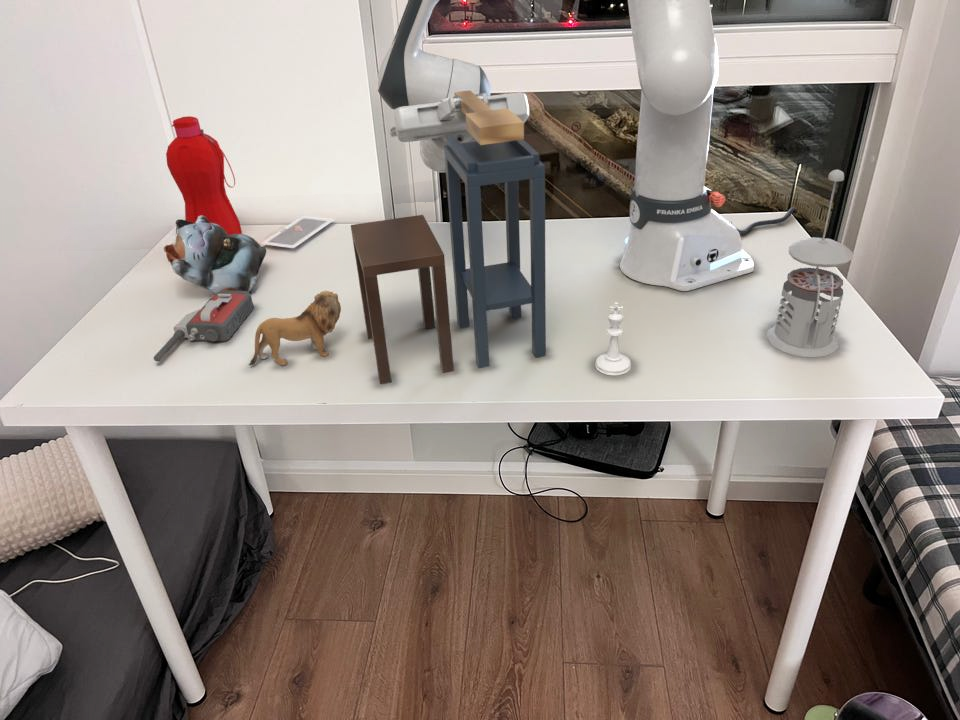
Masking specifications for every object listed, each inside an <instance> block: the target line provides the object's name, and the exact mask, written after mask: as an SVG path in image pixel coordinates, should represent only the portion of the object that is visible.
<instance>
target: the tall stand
mask: <svg viewBox="0 0 960 720" xmlns="http://www.w3.org/2000/svg"><path fill="white" fill-rule="evenodd" d="M446 142H447V145H445V146H444V154H445V167H446V172H445V179H446V193H447V205H448V217H449V231H450V233H449V234H450V243H451V244H450V245H451V258H452V271H453V284H454V297H455V309H456V311H455V312H456V323H457V325H458V328H459V329H464V328H469V327H470V314H469V313H470V312H469V311H470V310H469V298H468V296H469V295H470V297H471V301H472V302H471V303H472V319H473V333H474V334H473V335H474V351H475V364H476V366H477V367H478V369H482V368H488V367H490V349H489V332H488V331H489V330H488V327H489V326H488V312H489V311H495V310H502V309H507V308H508V315H509V317H510V319H511V320H516V319H522V306H525V305H531V306H530V307H531V353H532V355H533V356H534V358H536V359H538V358H542V357H543V358H544V357H546V356H547V351H546V350H547V344H546V343H547V339H546V338H547V336H546V334H547V332H546V330H547V329H546V326H547V325H546V323H547V322H546V320H547V319H546V317H547V315H546V312H547V310H546V308H547V307H546V305H547V303H546V302H547V301H546V298H547V297H546V165H545V163H543V161H541V160H540V153H539V152H538V151H537V150H536V149H535V148H533V147H532V146H531V145H530V144H529V143H528V142H527V141H525V140H524V139H523V140H517V141H509V142H502V143H494V144H487V145H480V144H479V143H478V142H477V141H476V142H468V143H459V142H458V141H457V140H456V138H455V137H454V136H446ZM461 180H462V182H463V183H464V190H465V191H464V192H465V206H466V208H465V209H466V223H467V224H466V225H467V240H468V255H469V268H466V267H467V266H466V265H467V264H466V253H465V252H466V251H465V238H464V237H465V236H464V223H463V222H464V221H463V207H462V205H463V204H462V192H461ZM525 180H526V181H527V180H529V234H530V236H529V237H530V239H529V240H530V282H529V281H528V280H527V278H526V277H525V276H524V274H523V272H522V271H521V241H520V240H521V238H520V200H519V199H520V197H519V196H520V195H519V181H525ZM496 184H497V185H498V184H504V203H505V204H504V205H505V209H504V210H505V234H506V237H505V238H506V262H501V263H496V264H488V265H485V253H484V252H485V251H484V233H483V232H484V231H483V214H482V213H483V212H482V195H481V193H482V192H481V187H482V186H490V185H496ZM468 294H469V295H468Z"/></svg>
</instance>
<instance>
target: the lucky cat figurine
mask: <svg viewBox="0 0 960 720" xmlns="http://www.w3.org/2000/svg"><path fill="white" fill-rule="evenodd" d="M175 225H176V226H175V238H174V239H175V240H174V241H173V243H170V244H166V245H165V246H164V247H163V251H164V253H166V254H165V255H166V259H167V261H168V262H169V263H170V266H171V268H172V271H173V273H174V274H176V275H178V276H179V277H181V279H183V280H185V281H188V282H190V283H192V284H193V285H197V286H199V287H201V288H203V289H206V290H208V291H209V292H212V293H214V294H216V293H218V292H220V291H222V290H226V291H247V292H251V291H252V289H253V288H254V287H255V286H256V284H257V282H258V278H259V271H260V268H261V266H262V264H263V262H264V259H265V258H266V256H267V255H266V254H267V248H266V247H265V246H262V245H261V244H260V243H259V242H257V240H255V239H254V238H253V237H252V236H250V235H247V234H243V233H242V234H232V235H228V234H227V232H226V231H225V229H224V228H222V227H221V226H220V225H218V224H214V223H210V222H209V221H208V219H207V218H206V217H205V216H202V215H201V216H198V219H197V221H196V222H195V223H193V222H188V221H186V220H185V219H180V218H179V219H176V221H175Z"/></svg>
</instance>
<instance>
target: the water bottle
mask: <svg viewBox="0 0 960 720" xmlns="http://www.w3.org/2000/svg"><path fill="white" fill-rule="evenodd" d="M171 127H173V128H174V130H175V131H174V132H175V134H176V137H175V138H173V140H172V141H171V142H170V143H169V145H168V146H167V148H166V149H167V150H166V153H165V157H166V158H165V159H166V165H167V168H168V171H169V173H170V176H171V177H172V179H173V181H174V182H175V184H176V186H177V188H178V190H179V192H180V193H181V195H182V198H183V199H182V200H183V203H184V220H186V221H188V222H193V223H195V222H196V221H197V219H198V216H201V215H202V216H205V217H206V218H207V219H208V221H209V222H210V223H214V224H218V225H220V226H221V227H222V228H224V229H225V231H226V232H227V234H228V235H232V234H243V231H242V226H241V223H240V220H239V218H238V216H237V212H236V211H235V209H234V207H233V205H232V203H231V201H230V199H229V197H228V194H227V191H226V187H225V184H226V185H227V187H228V188H234V187H235V185H236V178H235V174H234V172H233V169H232V166H231V165H230V162H229V159H228V158H227V156H226V155H225V152H224V151H223V150H222V148H221V147H220V144H219V141H218V140H217V139H215V138H214V137H212V136H211V135H210V134H207V133H205V132H204V129H203V128H201V125H200V122H199V118H197V117H195V116H182V117H178V118H176V119H173V121H172V125H171ZM225 161H226V162H227V165H228V166H229V169H230V171H231V174H232V177H233V182H234V183H233V186H231V185H230V184H229V183H228V181H227V179H226V176H225V175H226V174H225Z"/></svg>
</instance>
